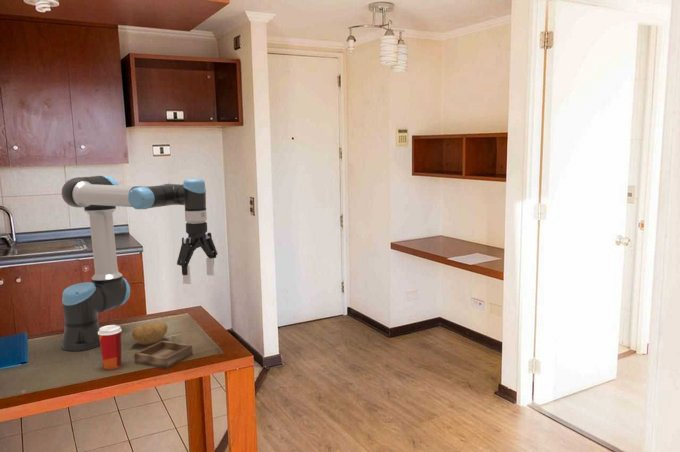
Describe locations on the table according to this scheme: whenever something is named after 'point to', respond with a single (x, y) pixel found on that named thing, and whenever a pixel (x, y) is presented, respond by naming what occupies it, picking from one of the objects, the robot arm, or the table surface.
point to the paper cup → (110, 346)
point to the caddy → (163, 354)
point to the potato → (149, 333)
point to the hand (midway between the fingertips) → (199, 279)
